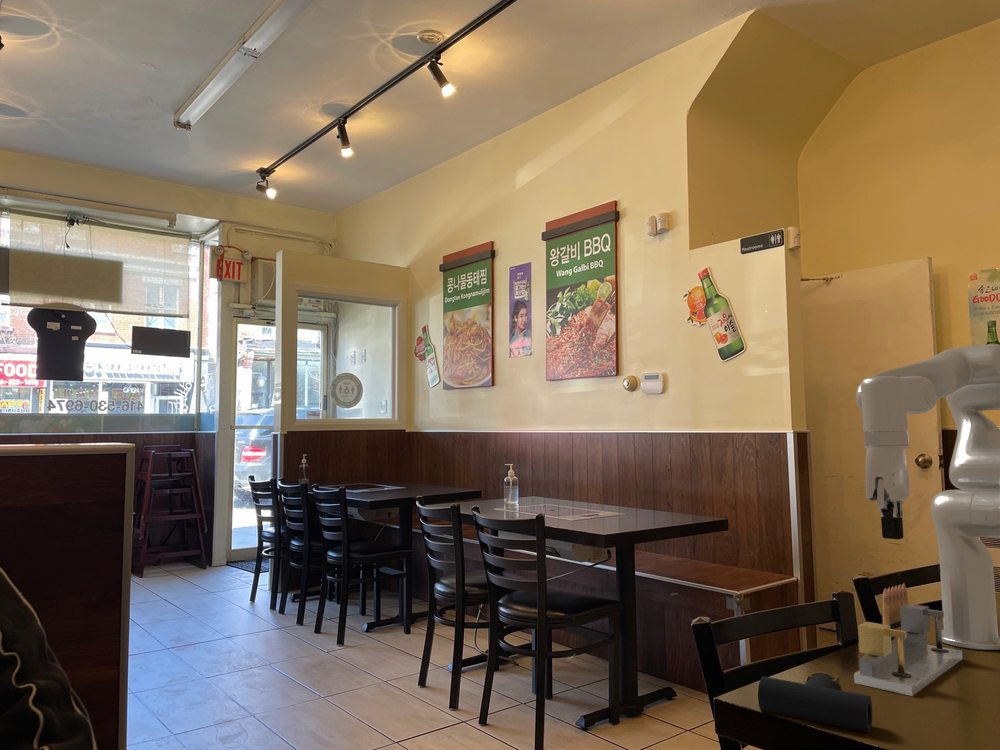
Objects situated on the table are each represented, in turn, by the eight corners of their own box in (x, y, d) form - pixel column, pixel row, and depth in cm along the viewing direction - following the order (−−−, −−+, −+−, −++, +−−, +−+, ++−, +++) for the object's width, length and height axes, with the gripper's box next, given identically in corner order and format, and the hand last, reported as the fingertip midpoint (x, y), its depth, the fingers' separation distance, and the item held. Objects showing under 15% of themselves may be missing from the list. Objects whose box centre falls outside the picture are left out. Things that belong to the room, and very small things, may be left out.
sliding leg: (868, 662, 127) (866, 621, 128) (911, 671, 122) (909, 628, 123) (860, 667, 124) (858, 625, 125) (903, 676, 119) (901, 632, 120)
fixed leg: (908, 640, 142) (906, 603, 143) (948, 647, 137) (946, 609, 138) (902, 644, 140) (899, 606, 140) (942, 651, 135) (940, 612, 135)
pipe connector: (777, 660, 118) (877, 677, 109) (778, 693, 118) (879, 713, 109) (757, 680, 109) (865, 700, 100) (758, 716, 108) (867, 739, 100)
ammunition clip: (891, 650, 142) (888, 589, 144) (881, 648, 144) (878, 588, 145) (913, 641, 149) (910, 583, 150) (904, 639, 150) (900, 582, 152)
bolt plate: (910, 649, 143) (909, 627, 143) (962, 659, 136) (961, 635, 137) (854, 683, 122) (853, 656, 123) (912, 696, 116) (910, 668, 116)
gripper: (879, 440, 143) (885, 532, 141) (850, 441, 133) (857, 541, 131) (920, 440, 138) (927, 535, 136) (894, 441, 127) (901, 545, 126)
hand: (893, 538), depth 134 cm, fingers closed
